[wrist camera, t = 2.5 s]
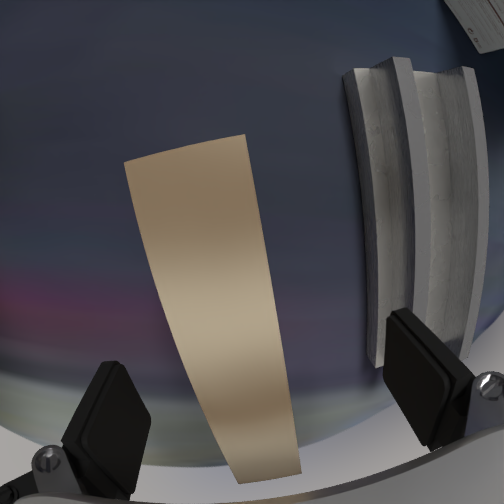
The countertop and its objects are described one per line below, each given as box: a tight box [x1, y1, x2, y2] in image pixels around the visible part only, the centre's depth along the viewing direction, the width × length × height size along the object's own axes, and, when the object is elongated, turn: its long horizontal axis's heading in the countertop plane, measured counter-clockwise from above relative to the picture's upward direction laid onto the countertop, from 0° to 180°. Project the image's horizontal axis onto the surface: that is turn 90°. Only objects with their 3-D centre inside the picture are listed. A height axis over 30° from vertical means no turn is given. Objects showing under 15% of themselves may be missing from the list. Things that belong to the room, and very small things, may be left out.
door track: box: [342, 57, 489, 368], centre depth 18 cm, size 22×9×5 cm, turn 10°
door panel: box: [124, 134, 302, 484], centre depth 15 cm, size 14×3×12 cm, turn 10°
